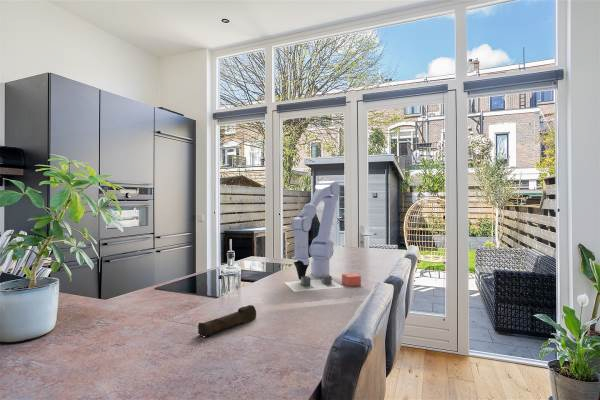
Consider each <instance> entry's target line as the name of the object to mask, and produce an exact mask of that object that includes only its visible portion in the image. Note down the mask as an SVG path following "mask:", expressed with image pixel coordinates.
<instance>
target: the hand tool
mask: <svg viewBox="0 0 600 400" xmlns="http://www.w3.org/2000/svg"><path fill="white" fill-rule="evenodd" d="M255 307H256V306H254V305H253V304H250V305H249V304H248V305H246V306H242V307H239V308H238V310H237V311H235V312H233V313H229V314H227V315H223V316H221V317H217V318H214V319H211V320H208V321H205V322H198V325H197V328H198V331H197V333H198V335H199V334H200V335H202V336H205V337H206V336H207V335H211V334H215V333H217V332H220V331H223V330H227V329H228V328H232V327H234V326H237V325H246V324H249V323H250V322H252V321H253V320H255V319H256V318H257V310H256V308H255ZM245 323H246V324H245ZM211 336H212V335H211ZM206 338H207V337H206Z"/></svg>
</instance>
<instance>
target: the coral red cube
mask: <svg viewBox="0 0 600 400" xmlns="http://www.w3.org/2000/svg"><path fill="white" fill-rule="evenodd" d="M361 277H362V276H361V275H359V274H357V273H355V272H352V273H342V274H341V282H342V284H343V285H345V286H347V287H352V286H353V287H355V286H360V287H361V286H362V278H361Z"/></svg>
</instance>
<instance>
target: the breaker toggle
mask: <svg viewBox="0 0 600 400" xmlns="http://www.w3.org/2000/svg"><path fill="white" fill-rule="evenodd" d="M310 280H311V277H310V276H309V275H305V276H301V280H300V281H301V284H302V285H303V286H306V285H310Z"/></svg>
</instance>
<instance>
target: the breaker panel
mask: <svg viewBox="0 0 600 400" xmlns="http://www.w3.org/2000/svg"><path fill="white" fill-rule="evenodd" d="M284 284H285V285H287V287H289V289H290V290H292V291H293V292H294V293H296V292H307V291H308V292H309V291H319V290H321V291H322V290H330V289H342V288H344V286H343V285H341V284H339V283H338V282H336V281H335V280H333V278H332V275H322V277H321V279H320V278H317V279H310V285H306V286H303V285H302V284H301V280H296V281H295V280H294V281H284Z"/></svg>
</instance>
